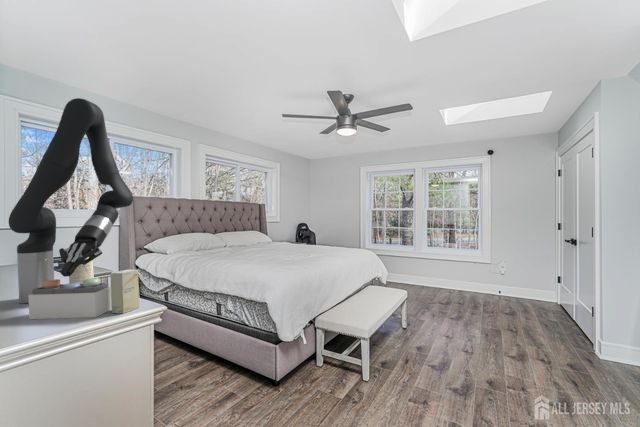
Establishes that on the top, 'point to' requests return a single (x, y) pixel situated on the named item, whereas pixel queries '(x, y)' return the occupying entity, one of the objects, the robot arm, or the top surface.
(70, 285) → the slate blue button
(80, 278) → the aerosol can
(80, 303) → the button console
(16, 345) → the top surface
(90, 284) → the sage button
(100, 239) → the robot arm
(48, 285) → the terracotta button
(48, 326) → the top surface
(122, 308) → the skincare box
